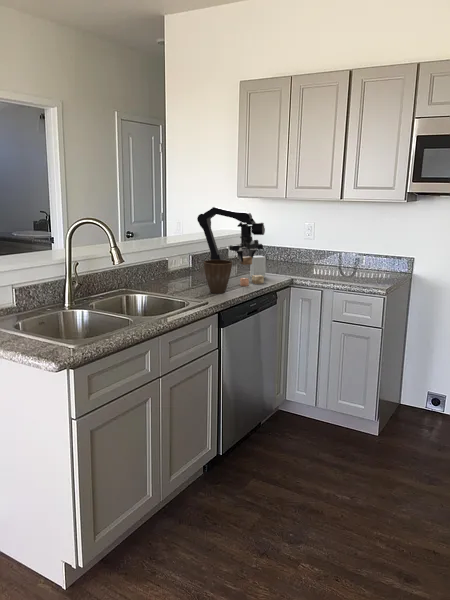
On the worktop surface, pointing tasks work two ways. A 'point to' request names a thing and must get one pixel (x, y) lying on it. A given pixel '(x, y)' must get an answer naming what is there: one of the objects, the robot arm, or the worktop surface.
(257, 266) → the supplement box
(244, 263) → the walnut cube
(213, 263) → the plant pot
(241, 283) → the peach rounded piece
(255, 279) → the maple cube
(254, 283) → the pad
